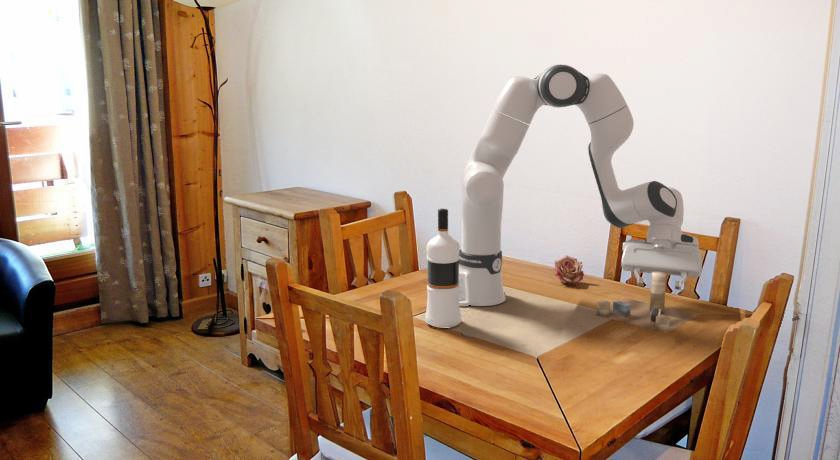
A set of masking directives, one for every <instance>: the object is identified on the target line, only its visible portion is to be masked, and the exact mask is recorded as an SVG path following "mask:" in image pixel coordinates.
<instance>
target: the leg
mask: <svg viewBox="0 0 840 460" xmlns="http://www.w3.org/2000/svg"><path fill="white" fill-rule="evenodd" d="M666 289H667V273H665V272H659V271H655V272H652V273H651V281H650V298H649V303H650V311H651V314H650V318H651V321H656V316H657V315H660V314H661V312H664V307H665V302H666V292H667V291H666Z"/></svg>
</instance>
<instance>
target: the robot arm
mask: <svg viewBox="0 0 840 460" xmlns="http://www.w3.org/2000/svg"><path fill="white" fill-rule="evenodd" d="M542 106H549V107H552V108H565V107H566V108H567V107H570V106H576V107H577V108H579V109H580V112H582V114H583V115H584V118H585V120H586V123H587V124H588V127H589V130H590V137H591V138H590V139H591V140H590V142H589V143H588V147H587V149H588V150H587V152H588V157H589V161H590V165H591V168H592V172H593V175H594V179H595V182H596V186H597V188H598V192H599V194H600V198H601V206H602V212H603V215H604V218H605V220H606V221H607V222H608V224H610V225H612V226H614V227H616V228H618V229H624V228H626V227H630V226H632V225H634V224H637V223H639V222H643V221H648V222H649V226H648V229H647V231H646V239H632V238H631V239H628V240H625V241H624V242H623V243H622V246H621V247H622V252H623V253H622V256H621V261H620V263H621V264H620V266H621V268H622V270H623V271H625V272H633V275H634V277H635V279H636V286H638V287H644V277H641V276H640V273H646V274H652V272H655V271H659V272H665V273H667V275H668V276H679V277H680V279H679V280H675V285H674V289H675V290H676V291H679V290H680V291H681V290H682V285H684V283H685V282H686V280H687V277H688V278H699V277H701V276H702V272H703V258H702V252H701V249H700V248H699V239H698V238H697V237H696V236H693V235H690V234H686V233H684V232H682V225H683V223H684V222H683V221H684V214H685V213H684V212H685V211H684V210H685V209H684V200H683V195H682V194H681V192H680V190H678V189H676V188H674V187H671V186H666V185H665V184H663V183H661V182H659V181H656V180H653V181H647V182H644V183H641V184H638V185H636V186H633V187H629V188H627V189H623V190H622V189H620V188H619V186H618V185H619V184H618V182H617V179H616V175H615V172H614V168H613V165H612V160H613V158H612V157H613V156H614V154H615V153H616V151H618V150H619V149H620V147H622V146H623V144H625V143H626V141H628V139H629V138H630V136H631V135H632V132H633V130H634V123H635V122H634V118H633V114H632V113H631V110H630V108H629V105H628V104H627V101H626V100H625V98H624V96H623V94H622V92H621V90H620V88H619V87H618V86H617V85H616V83H615V82H614V80H613V79H612V78H611V77H610V76H609V75H608V74H606V73H603V72H602V73H594V74H591V75H589V76H586V75H584V74H583V73H582V72H580V71H579V70H578V69H576V68H574V67H573V66H571V65H567V64H553V65H551V66H549V67H547V68H546V69H544V71H543V72H541V73H539V74H538V75H537V76H536V77H535V78H528V77H526V76H521V75H519V76H513V77H511V78H509V80H508V81H507V82H506V84H505V85H504V86H503V88H502V89H501V91H500V93H499V95H498V96H497V98H496V100H495V102H494V105H493V107H492V109H491V111H490V112H489V116H488V118H487V120H486V122H485V125H484V127H483V130H482V132H481V134H480V136H479V137H478V140H477V142H476V144H475V145H474V148H473V150H472V152H471V154H470V157H469V159H467V162H466V164H465V167H464V169H463V171H462V173H461V178H460V179H461V189H462V190H461V192H462V193H461V197H462V198H461V199H462V200H461V242H460V243H461V247H460V248H461V249H460V252H459V256H460V259H459V286H460V288H459V305H460V307H469V305H471V306H472V307H473V306H474V307H488V306H489V307H490V306H496V305H500V304H502V303H504V302H505V301H506V294H505V291H504V286H503V279H502V278H503V277H502V265H503V251H502V250H501V248H502V247H501V245H502V217H503V206H504V180H503V179H504V177H505V174H506V172H507V171H508V169H509V167H510V165H511V164H512V162H513V161H514V158H515V157H516V155H517V154H518V151H519V150H520V148H521V146H522V143H523V142H524V139H525V137H526V134H527V132H528V130H529V127H530V125H531V123H532V121H533V119H534V116H535V114H537V111H538V110H539V109H540V107H542ZM471 306H470V307H471Z"/></svg>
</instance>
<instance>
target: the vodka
mask: <svg viewBox="0 0 840 460" xmlns="http://www.w3.org/2000/svg"><path fill="white" fill-rule="evenodd" d="M460 248H461V247H460V243H459V242H458V240H457V239H455V238H454V237H452V236H451V235H449V209H447V208H438V209H437V235H435V236H434V237H432V238H431V239H430V240H428V242H427V245H426V248H425V249H426V260H427V261H426V262H427V286H426V290H427V291H426V292H427V299H426V311H425V315H424V316H425V317H424V318H425V319H424V320H425V323H426V324H427V323H428V324H430V325H432V326H436V327H453V326H456V325H457V326H459V325H460V324H461V322H462V313H461V309H460V307H461V306H460V305H459V288H460V286H459V259H460V256H459V252H460V250H461V249H460ZM428 324H427V325H428ZM458 324H459V325H458ZM457 326H456V327H457ZM453 328H454V327H453Z"/></svg>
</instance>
